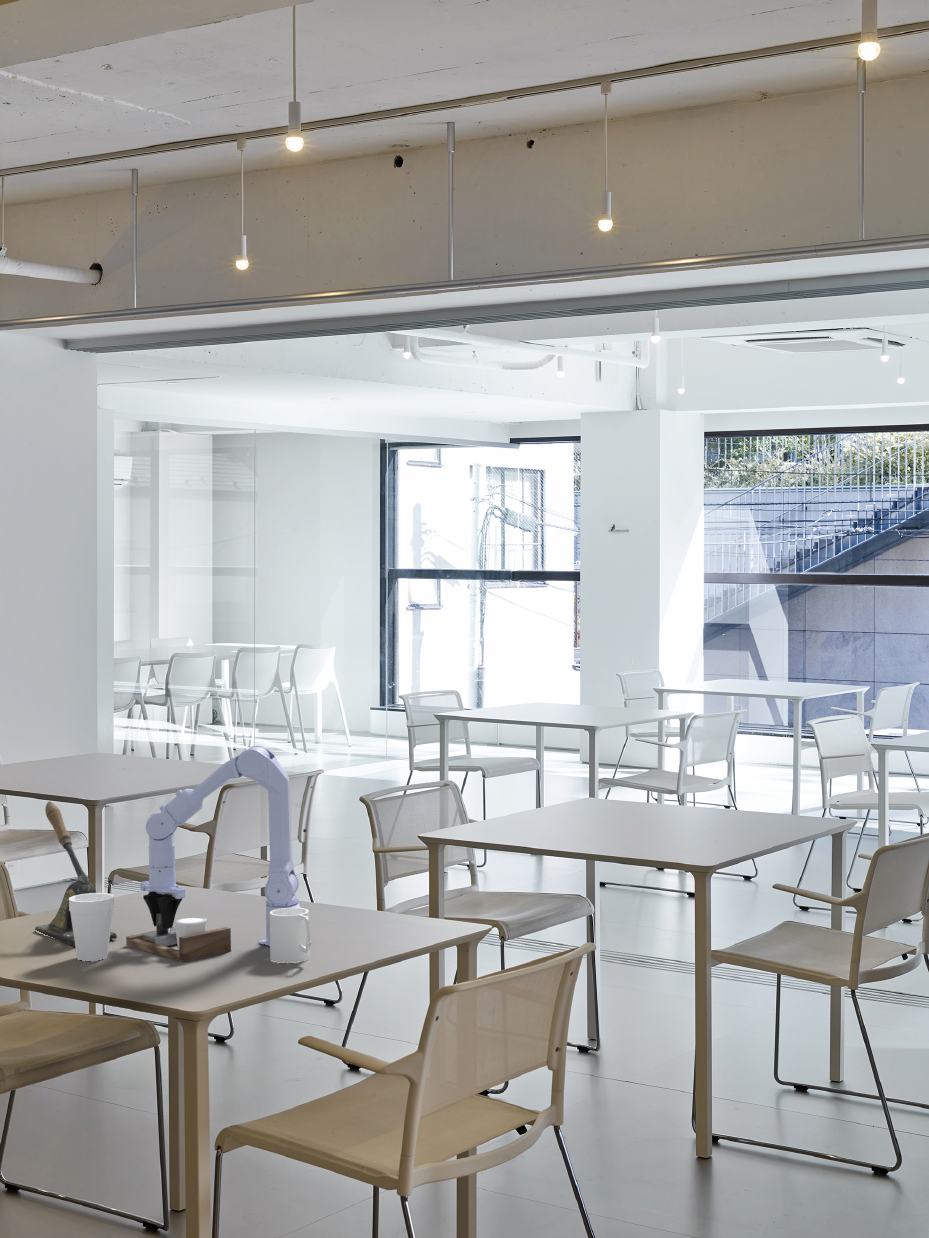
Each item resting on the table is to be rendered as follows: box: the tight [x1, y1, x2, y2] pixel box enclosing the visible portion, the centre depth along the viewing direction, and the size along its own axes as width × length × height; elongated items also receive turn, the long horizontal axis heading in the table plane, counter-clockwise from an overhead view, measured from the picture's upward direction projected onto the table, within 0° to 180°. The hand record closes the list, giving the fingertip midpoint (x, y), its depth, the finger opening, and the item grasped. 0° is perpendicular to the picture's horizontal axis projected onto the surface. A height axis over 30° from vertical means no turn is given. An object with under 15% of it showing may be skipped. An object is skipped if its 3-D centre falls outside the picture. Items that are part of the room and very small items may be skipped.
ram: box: [144, 911, 177, 947], centre depth 312 cm, size 4×8×7 cm, turn 136°
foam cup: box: [69, 892, 115, 962], centre depth 301 cm, size 10×9×13 cm
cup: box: [269, 907, 311, 963], centre depth 296 cm, size 8×12×10 cm
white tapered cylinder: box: [174, 916, 208, 950], centre depth 305 cm, size 7×7×7 cm
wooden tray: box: [125, 926, 232, 963], centre depth 308 cm, size 22×12×5 cm, turn 46°
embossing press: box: [34, 801, 118, 947], centre depth 322 cm, size 11×24×30 cm, turn 38°
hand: (163, 926), depth 312 cm, fingers closed on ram, 3 cm apart
